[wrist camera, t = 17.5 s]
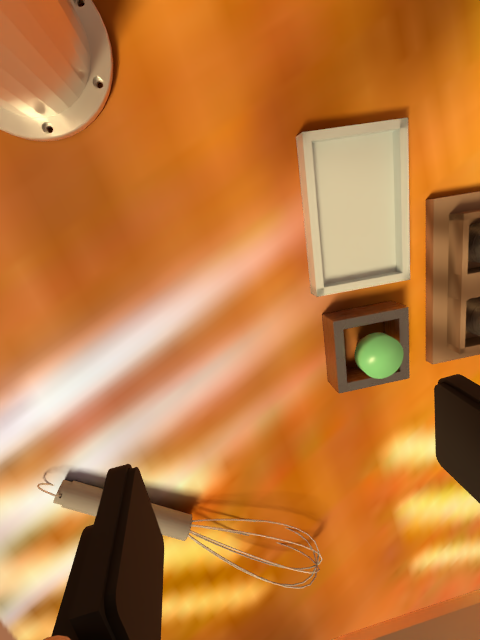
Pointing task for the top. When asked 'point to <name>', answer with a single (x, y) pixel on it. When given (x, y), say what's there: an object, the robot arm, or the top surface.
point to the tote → (355, 205)
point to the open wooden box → (349, 318)
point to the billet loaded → (473, 316)
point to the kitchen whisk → (169, 523)
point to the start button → (378, 355)
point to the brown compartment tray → (450, 276)
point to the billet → (474, 243)
